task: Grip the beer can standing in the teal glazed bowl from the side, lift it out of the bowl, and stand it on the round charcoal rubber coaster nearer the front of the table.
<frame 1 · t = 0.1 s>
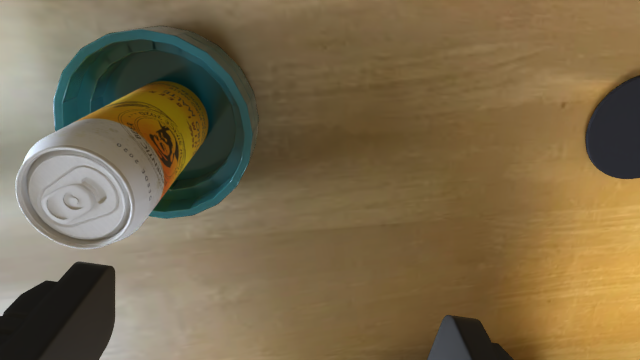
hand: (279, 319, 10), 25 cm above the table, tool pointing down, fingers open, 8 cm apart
bowl: (173, 116, 34), on the table
beer can: (172, 117, 33), resting on bowl
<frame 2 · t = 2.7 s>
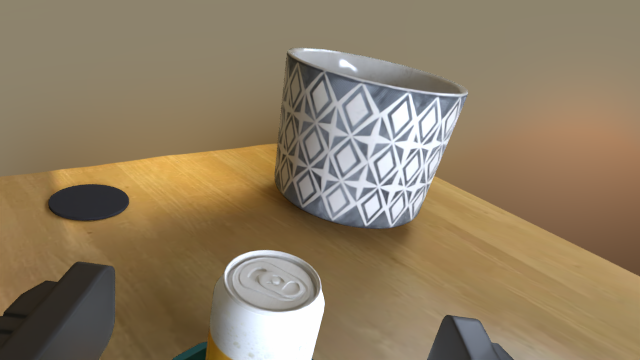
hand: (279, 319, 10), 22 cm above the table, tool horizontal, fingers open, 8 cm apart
planter: (343, 204, 69), on the table
coaster: (90, 202, 54), on the table
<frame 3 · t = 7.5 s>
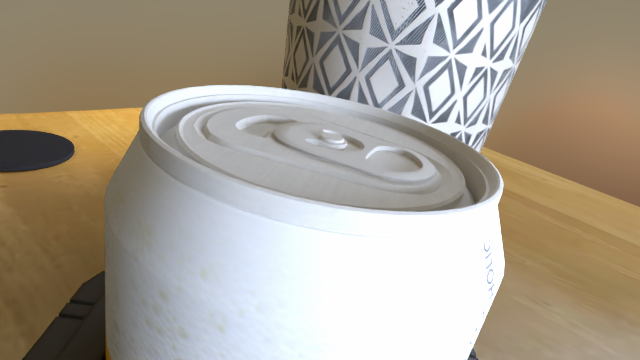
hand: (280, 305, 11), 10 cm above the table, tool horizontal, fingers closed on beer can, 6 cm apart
planter: (368, 165, 53), on the table
coaster: (16, 150, 38), on the table
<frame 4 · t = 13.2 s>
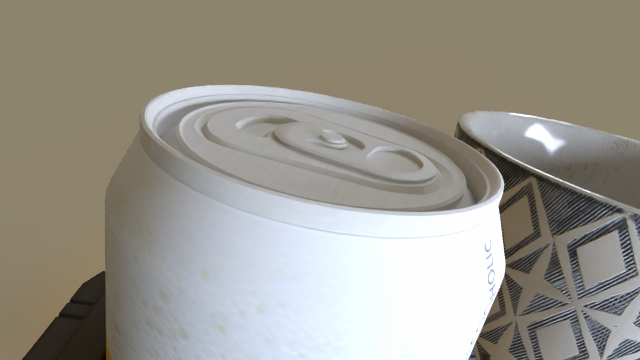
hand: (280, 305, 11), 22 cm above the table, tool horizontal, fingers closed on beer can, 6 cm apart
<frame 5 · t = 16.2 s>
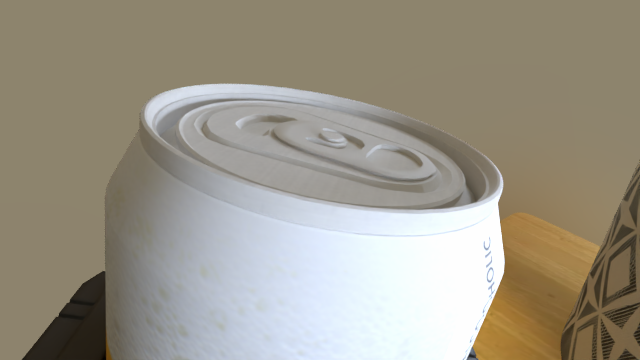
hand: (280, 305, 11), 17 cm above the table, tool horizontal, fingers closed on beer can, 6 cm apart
when the fingers open (10 cm above the table, at t = 18.7 s): beer can stays where it is, resting on coaster.
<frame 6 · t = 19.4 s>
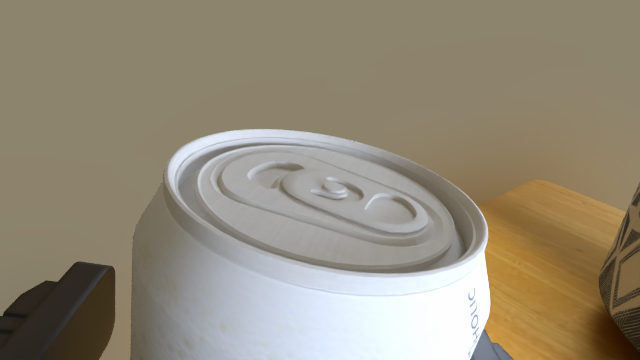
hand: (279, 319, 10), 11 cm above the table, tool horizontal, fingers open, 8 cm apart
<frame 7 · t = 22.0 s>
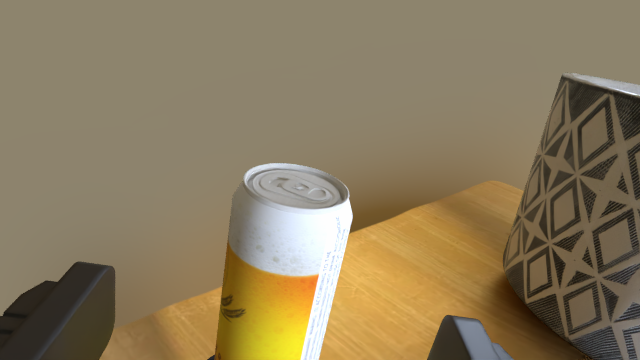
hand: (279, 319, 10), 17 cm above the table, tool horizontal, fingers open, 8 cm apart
planter: (615, 328, 42), on the table
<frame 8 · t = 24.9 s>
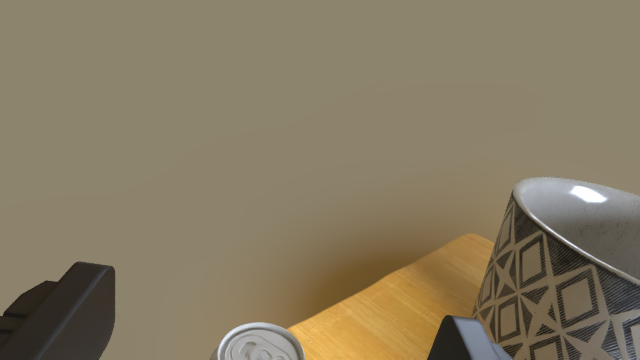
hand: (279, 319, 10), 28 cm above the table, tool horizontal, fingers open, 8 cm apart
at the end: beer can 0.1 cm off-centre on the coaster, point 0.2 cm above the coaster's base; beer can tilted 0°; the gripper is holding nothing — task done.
